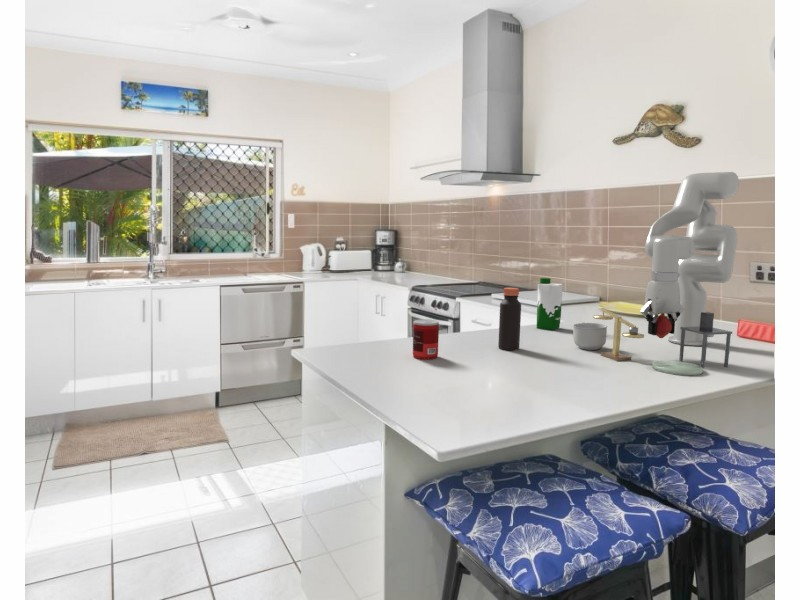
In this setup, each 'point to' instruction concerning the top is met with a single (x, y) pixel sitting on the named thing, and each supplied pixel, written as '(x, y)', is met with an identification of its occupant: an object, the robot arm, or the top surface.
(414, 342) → the canned food
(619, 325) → the balance
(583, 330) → the teacup
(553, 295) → the milk carton
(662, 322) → the onion
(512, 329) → the bottle
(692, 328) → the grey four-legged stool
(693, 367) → the dish
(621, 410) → the top surface
